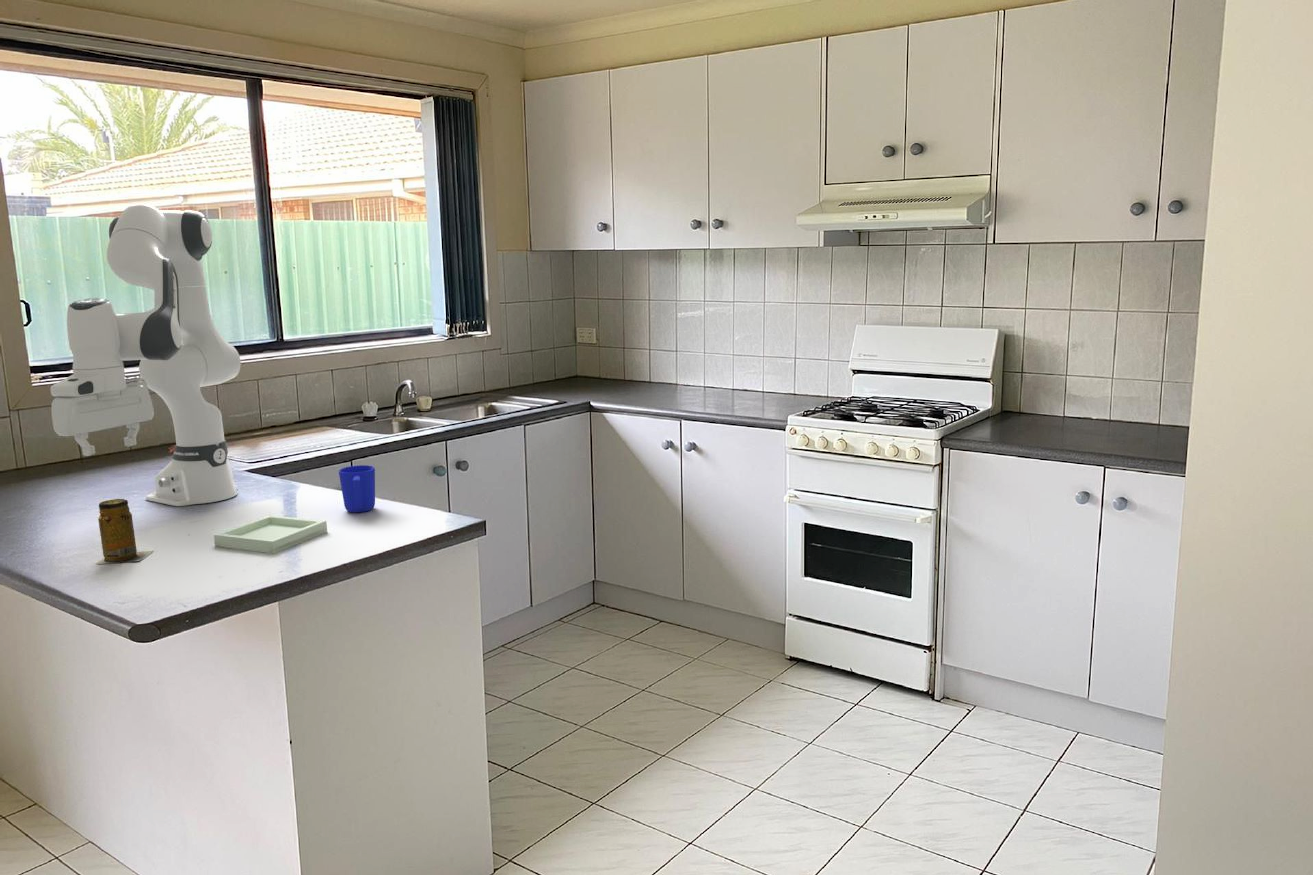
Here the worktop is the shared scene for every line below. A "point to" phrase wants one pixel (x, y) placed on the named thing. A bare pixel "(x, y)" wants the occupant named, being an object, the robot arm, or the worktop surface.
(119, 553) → the condiment
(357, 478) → the mug
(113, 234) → the robot arm
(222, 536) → the tray
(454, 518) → the worktop surface
